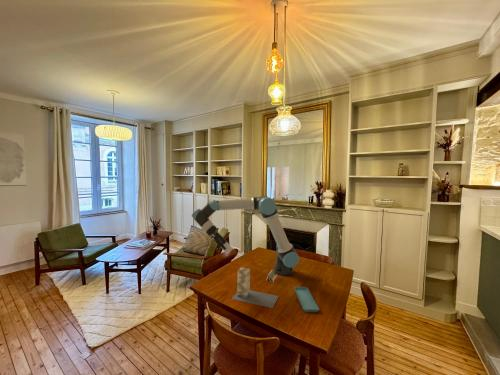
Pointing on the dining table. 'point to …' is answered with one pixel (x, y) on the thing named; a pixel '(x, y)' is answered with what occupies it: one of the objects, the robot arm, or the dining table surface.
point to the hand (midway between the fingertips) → (230, 251)
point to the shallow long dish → (306, 299)
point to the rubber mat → (258, 299)
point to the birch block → (243, 282)
